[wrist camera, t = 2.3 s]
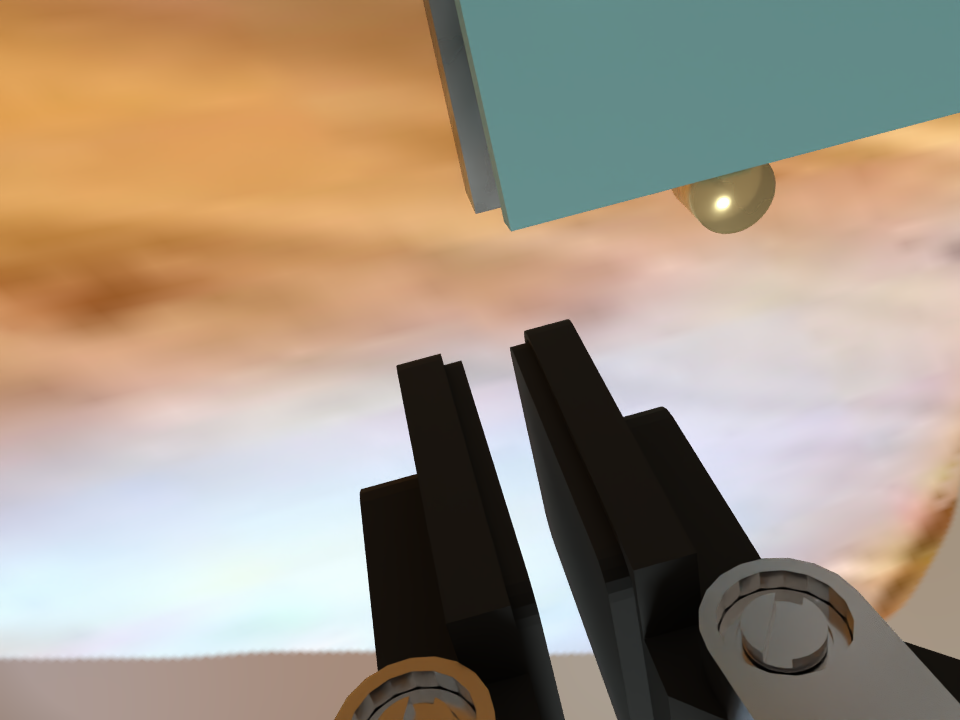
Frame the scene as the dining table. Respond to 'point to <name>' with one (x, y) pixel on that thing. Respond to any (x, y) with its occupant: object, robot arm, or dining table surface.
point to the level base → (711, 201)
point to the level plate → (691, 88)
